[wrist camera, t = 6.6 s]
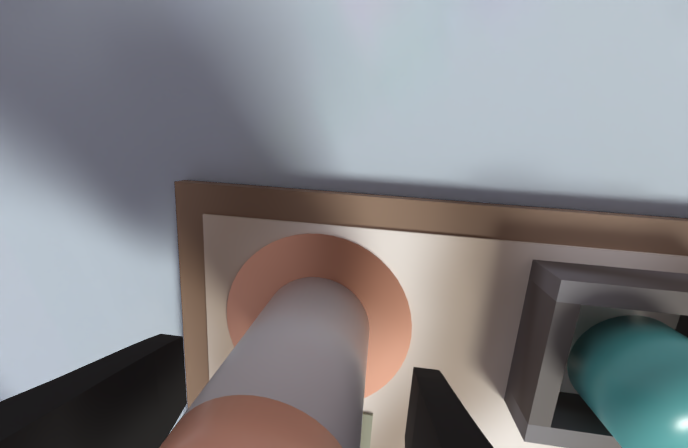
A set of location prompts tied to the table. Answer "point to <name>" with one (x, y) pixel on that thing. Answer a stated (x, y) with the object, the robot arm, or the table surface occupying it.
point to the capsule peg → (288, 376)
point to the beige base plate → (434, 294)
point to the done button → (634, 380)
